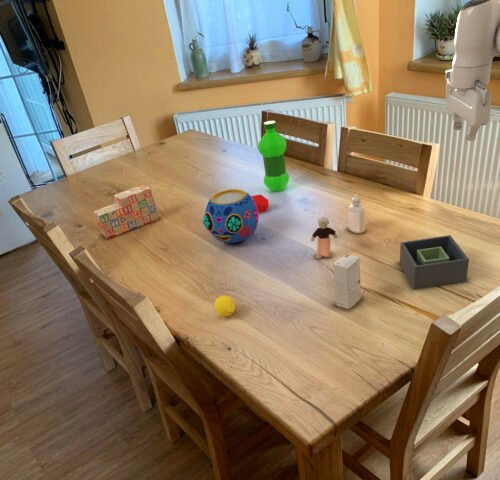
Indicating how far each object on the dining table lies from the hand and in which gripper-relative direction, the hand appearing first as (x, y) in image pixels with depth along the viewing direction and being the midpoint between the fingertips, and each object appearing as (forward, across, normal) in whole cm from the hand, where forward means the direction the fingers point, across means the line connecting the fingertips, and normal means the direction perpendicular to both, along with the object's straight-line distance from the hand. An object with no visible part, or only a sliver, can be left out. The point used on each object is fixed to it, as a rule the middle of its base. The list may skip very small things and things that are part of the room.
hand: (463, 134), depth 129 cm
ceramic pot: (+29, +19, +65) cm, 74 cm away
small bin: (+28, -18, +12) cm, 36 cm away
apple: (+29, +38, +56) cm, 74 cm away
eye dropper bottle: (+29, +12, +26) cm, 41 cm away
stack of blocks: (+29, +42, +105) cm, 117 cm away
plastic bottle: (+29, +56, +48) cm, 79 cm away
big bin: (+29, -18, +12) cm, 36 cm away
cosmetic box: (+29, -26, +36) cm, 53 cm away
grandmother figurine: (+29, -1, +38) cm, 48 cm away
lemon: (+29, -24, +68) cm, 78 cm away
